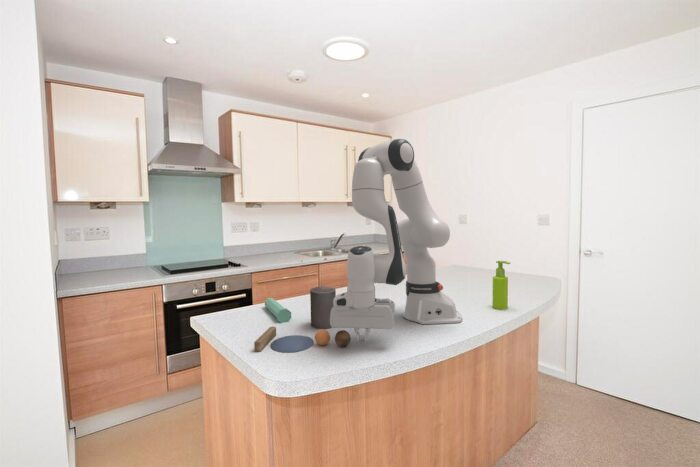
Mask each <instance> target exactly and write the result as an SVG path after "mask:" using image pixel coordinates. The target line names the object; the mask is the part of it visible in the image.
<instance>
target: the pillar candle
mask: <svg viewBox="0 0 700 467" xmlns="http://www.w3.org/2000/svg"><path fill="white" fill-rule="evenodd" d="M336 293H337V292H336V288H335V287H333V286H323V285H321V286H315V287H312V288H310V290H309V294H310V295H309V297H310V326H311V327H312V328H313V329H317V330H320V329H325V330H327V329H331V328H333V327H331V325H330V313H331V309H332V307H333V306H334V305H333V300H334V298H335V297H336V296H337V294H336Z"/></svg>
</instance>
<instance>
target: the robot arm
mask: <svg viewBox="0 0 700 467" xmlns="http://www.w3.org/2000/svg"><path fill="white" fill-rule="evenodd" d="M414 150H415V149H414V148H413V145H412V144H411V143H410V142H409V141H408V140H407V139H404V138H403V139H402V138H397V139H393V140H389V141H383V142H380V143H378V144H376V145H374V146H371V147H367V148H365V149H364V150H362V151H361V153H360V154H359V156H358V159H357V162H356V163H355V165H354V168H353V173H352V179H351V180H352V182H351V202H352V207H353V209H354V210H355V211H356V213H357V214H359V215H360V216H362V217H364V218H366V219H369V220H370V221H371V220H372V221H374V222H376V223H378V224H380V225H382V227H383V228H384V230H385V235H386V241H387V247H388V253H386V254H385V253H384V254H379V253H376V254H374V252H373V249H372V247H371V246H365V245H358V246H353V247H352V248H350V249H349V250H348V253H347V262H346V279H347V283H348V284H347V287H346V288H347V289H346V292H342V293H338V294H336V297H335V298H334V300H333V305H334V306H333V307H332V309H331V313H330V325H331V327H332V328H334V329H336V328H337V329H353V333H354V334H355V336H356V337H357V339H356V340H357V342H362V343H366V342H367V340H368V336H369V334H370V333H371V330H374V329H375V330H392V329H393V328H394V326H395V318H394V312H395V308H396V307H395V306H396V304H395V301H393V300H391V299H390V298H376V286H375V284H385V285H392V286H398V285H399V284H401V283H402V282H403V281H404V280H405V279H406V281H405V282H406V283H405V294H406V300H405V306H404V312H403V315H402V316H403V318H405V319H406V320H408V321H411V322H412V321H413V322H415V323H418V324H420V325H433V324H435V325H439V324H457V323H458V324H459V323H461V322H462V321H463V316H462V314H461V313H460V312H459V311H457V309H456V304H455V303H454V301H453V299H452V298H450V297H449V296H447V295H446V294H445V293H444V292H443V289H444V286H443V284H441V283H440V282H439V281H436V280H437V279H436V276H437V275H436V274H437V273H436V266H437V265H436V261H435V259H434V258H433V257H432V256H431V255H430V252H429V250H428V248H429V249H434V248H441V247H444V246H445V245H446V244H447V243H448V242H449V240H450V236H451V229H450V227H449V225H448V224H447V223H446V222H445V221H444V220H442V219H441V218H440V217H439V216H438V215H437V213H436V212H435V210H434V209H433V207H432V206H431V203H430V201H429V199H428V196H427V193H426V190H425V185H424V182H423V177H422V175H421V172H420V169H419V166H418V165H417V162H416V160H415V151H414ZM386 175H389V176H390V177H391V183H392V188H393V190H394V195H395V199H396V202H397V205H398V208H399V210H400V211H401V212H402V213H403V214H405V215H406V217H407V218H406V219H402V220H400V221H398V220H397V216H396V212H395V210H394V208H393V206H392V205H390V204H388V202H387V200H386V196H385V179H384V177H385V176H386ZM403 253H404V255H403ZM404 256H405V257H404ZM404 258H405V259H404ZM359 329H364V330H365V334H361V333H360V332H359Z"/></svg>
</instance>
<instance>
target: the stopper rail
mask: <svg viewBox="0 0 700 467" xmlns="http://www.w3.org/2000/svg"><path fill="white" fill-rule="evenodd" d="M276 336H277V326H270V327H268V328H267V330H266V331H264V332H263V333H262V334H261V335H260V336H259V337H258V338H257V339H256V340H254V342H253V343H254V347H253V348H254V352H262V351H264V349H265V348H266V347H267V346H268V345H269V344H270V343H271V342H272V341H273V339H274V338H275V337H276Z"/></svg>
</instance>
